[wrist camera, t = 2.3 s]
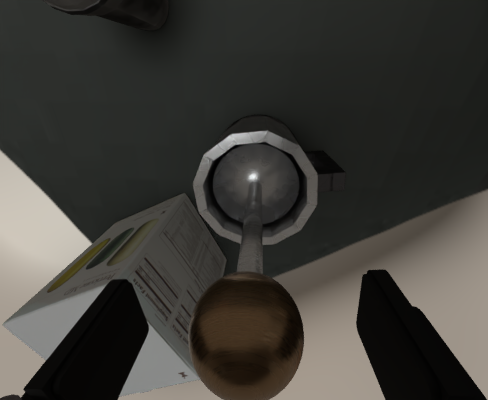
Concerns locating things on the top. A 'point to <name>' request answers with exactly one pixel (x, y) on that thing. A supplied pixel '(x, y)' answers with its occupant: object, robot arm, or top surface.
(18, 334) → the supplement box
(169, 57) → the top surface
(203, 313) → the plunger
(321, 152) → the carafe
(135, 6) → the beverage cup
